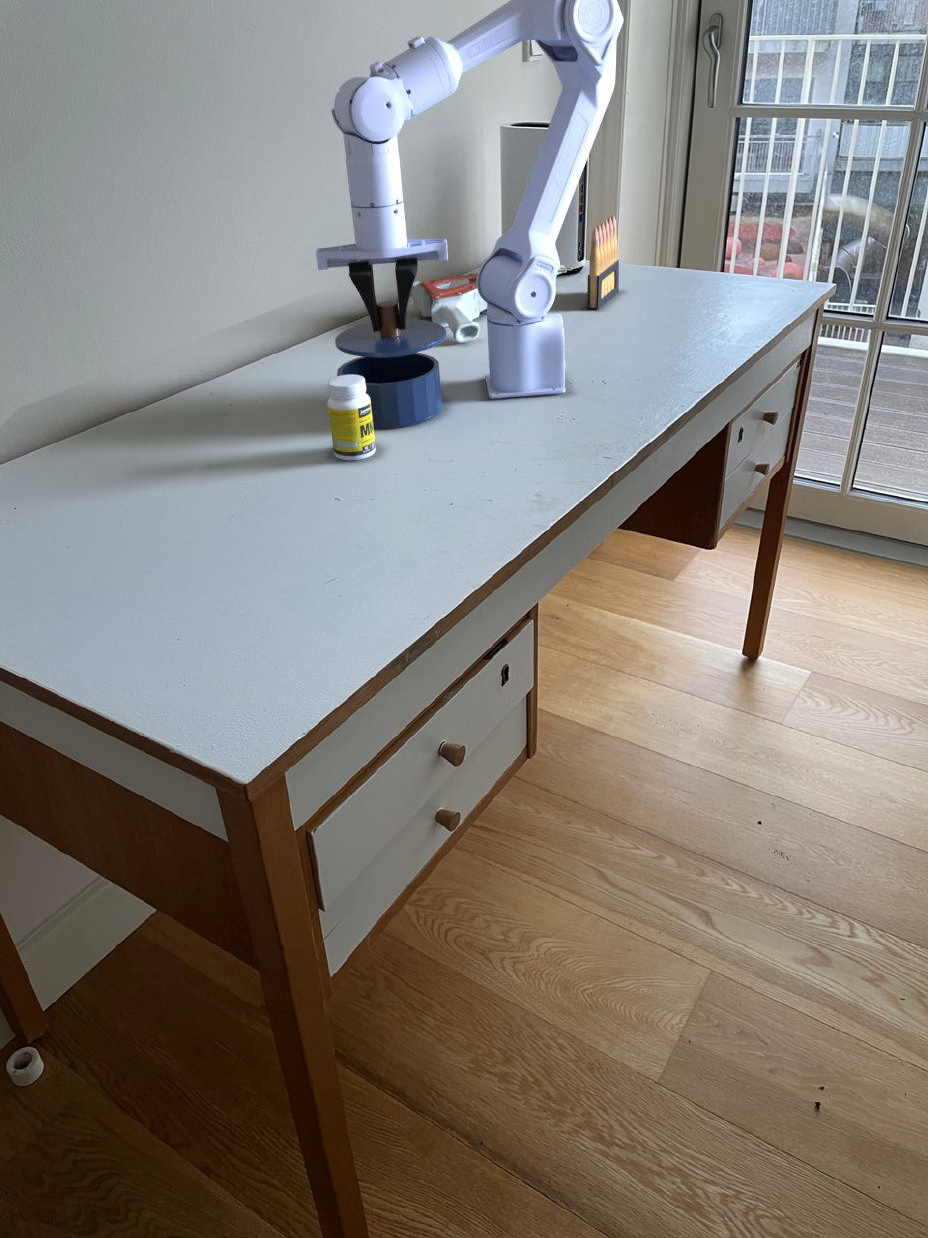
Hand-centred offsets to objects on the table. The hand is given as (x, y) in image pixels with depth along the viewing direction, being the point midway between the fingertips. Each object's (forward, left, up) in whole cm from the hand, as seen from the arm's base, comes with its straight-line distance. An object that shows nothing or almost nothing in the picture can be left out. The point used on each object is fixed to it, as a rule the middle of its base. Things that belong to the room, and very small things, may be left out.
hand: (390, 328), depth 114 cm
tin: (+1, -1, -10) cm, 10 cm away
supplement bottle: (+5, +11, -11) cm, 16 cm away
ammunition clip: (-32, -43, -11) cm, 55 cm away
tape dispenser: (-8, -37, -10) cm, 39 cm away
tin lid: (0, 0, -1) cm, 1 cm away
